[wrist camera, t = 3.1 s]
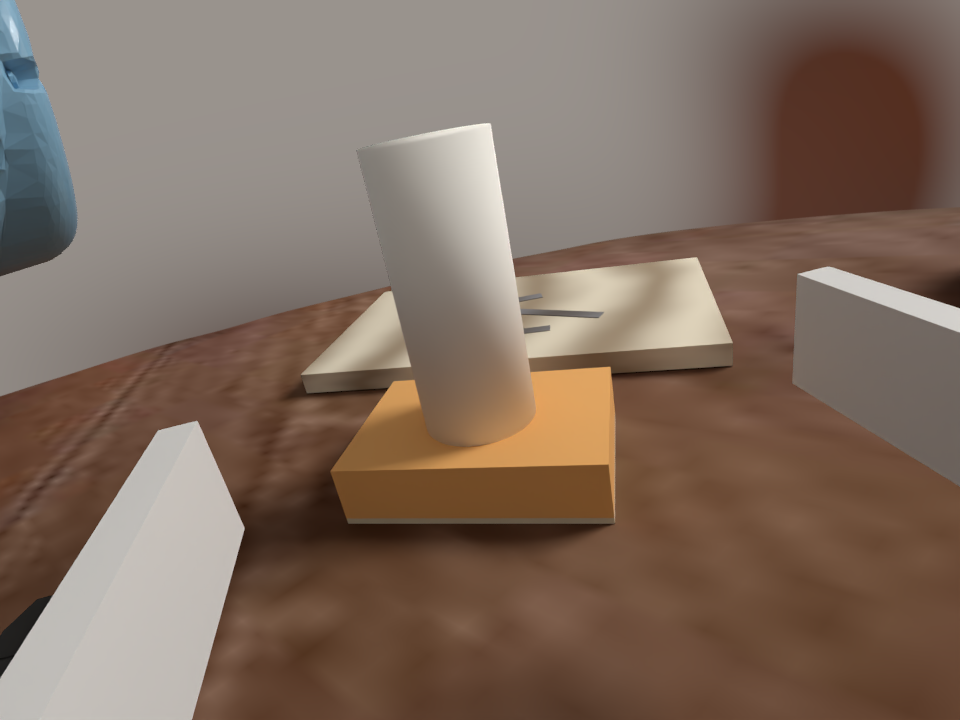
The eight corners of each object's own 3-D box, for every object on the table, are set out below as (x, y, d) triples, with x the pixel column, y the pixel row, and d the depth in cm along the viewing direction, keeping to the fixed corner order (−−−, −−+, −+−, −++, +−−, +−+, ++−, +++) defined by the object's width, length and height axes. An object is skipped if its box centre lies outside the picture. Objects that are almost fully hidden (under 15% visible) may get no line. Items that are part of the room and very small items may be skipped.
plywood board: (306, 393, 34) (300, 374, 34) (388, 306, 46) (384, 291, 46) (732, 365, 28) (732, 341, 28) (697, 274, 40) (696, 256, 40)
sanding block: (348, 524, 23) (229, 178, 17) (405, 426, 29) (330, 148, 23) (614, 524, 20) (571, 117, 15) (615, 416, 26) (584, 102, 21)
